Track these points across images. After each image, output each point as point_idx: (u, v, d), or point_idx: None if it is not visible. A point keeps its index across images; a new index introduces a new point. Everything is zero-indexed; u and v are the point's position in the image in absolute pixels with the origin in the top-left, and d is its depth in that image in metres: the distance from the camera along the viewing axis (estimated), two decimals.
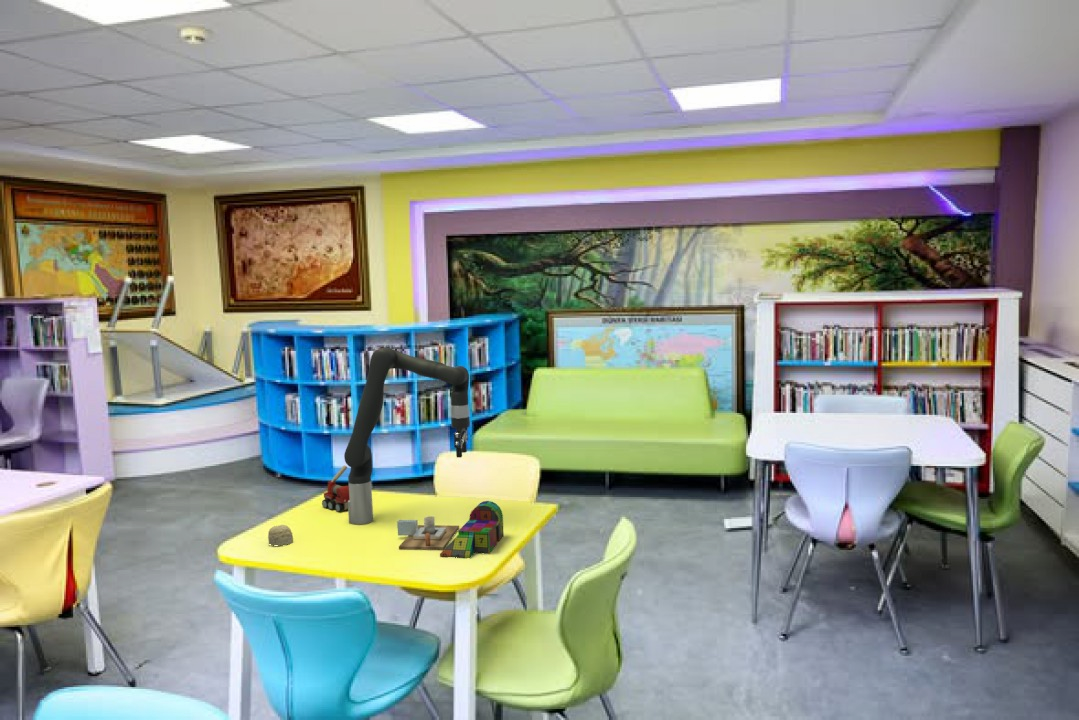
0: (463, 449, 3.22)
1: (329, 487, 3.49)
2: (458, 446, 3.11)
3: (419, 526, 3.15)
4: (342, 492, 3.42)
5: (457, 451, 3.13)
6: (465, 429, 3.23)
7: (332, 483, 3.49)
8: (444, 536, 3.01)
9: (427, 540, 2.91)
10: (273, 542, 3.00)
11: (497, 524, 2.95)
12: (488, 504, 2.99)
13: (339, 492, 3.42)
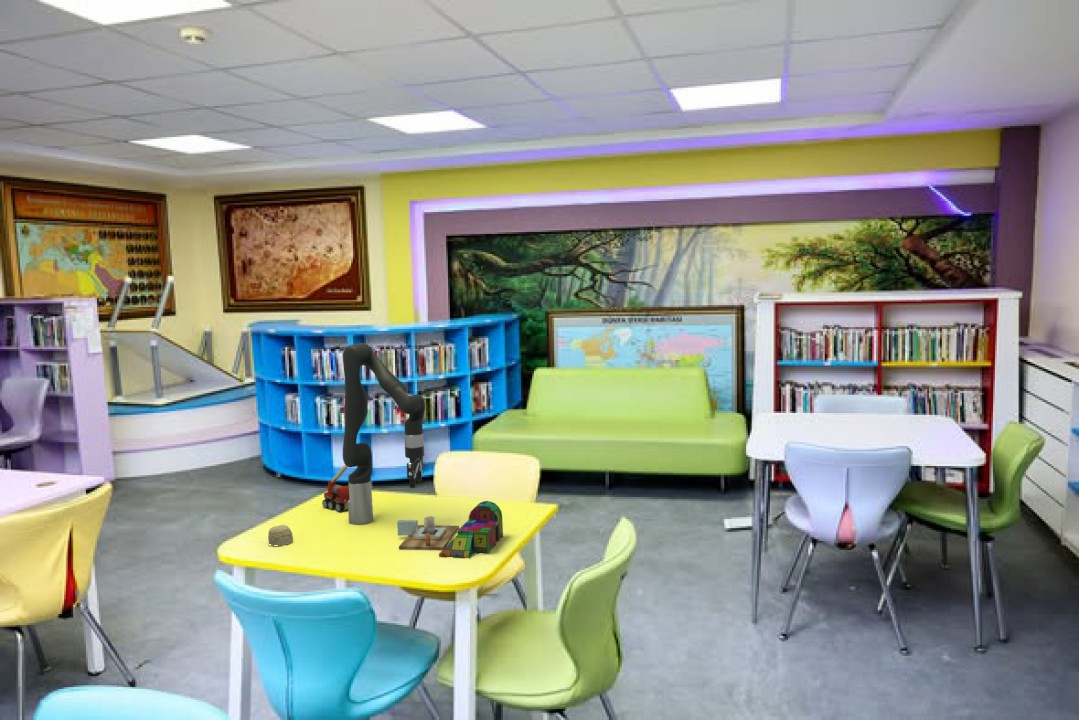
0: None
1: (329, 487, 3.49)
2: None
3: (419, 526, 3.15)
4: (342, 492, 3.42)
5: None
6: None
7: (332, 483, 3.49)
8: (444, 536, 3.01)
9: (427, 540, 2.91)
10: (273, 542, 3.00)
11: (496, 524, 2.95)
12: (487, 504, 2.99)
13: (339, 492, 3.42)
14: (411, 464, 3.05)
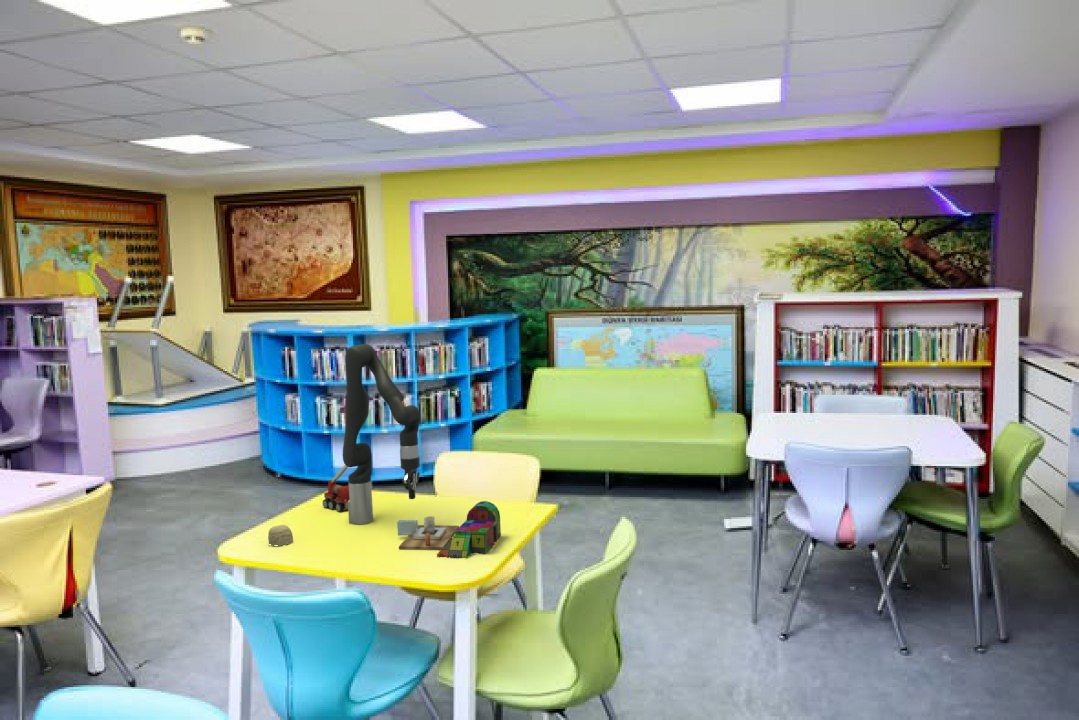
0: None
1: (329, 487, 3.49)
2: None
3: (419, 526, 3.15)
4: (342, 492, 3.42)
5: None
6: None
7: (332, 483, 3.49)
8: (444, 536, 3.01)
9: (427, 540, 2.91)
10: (273, 542, 3.00)
11: (494, 524, 2.95)
12: (485, 504, 2.99)
13: (339, 492, 3.42)
14: (406, 481, 3.05)
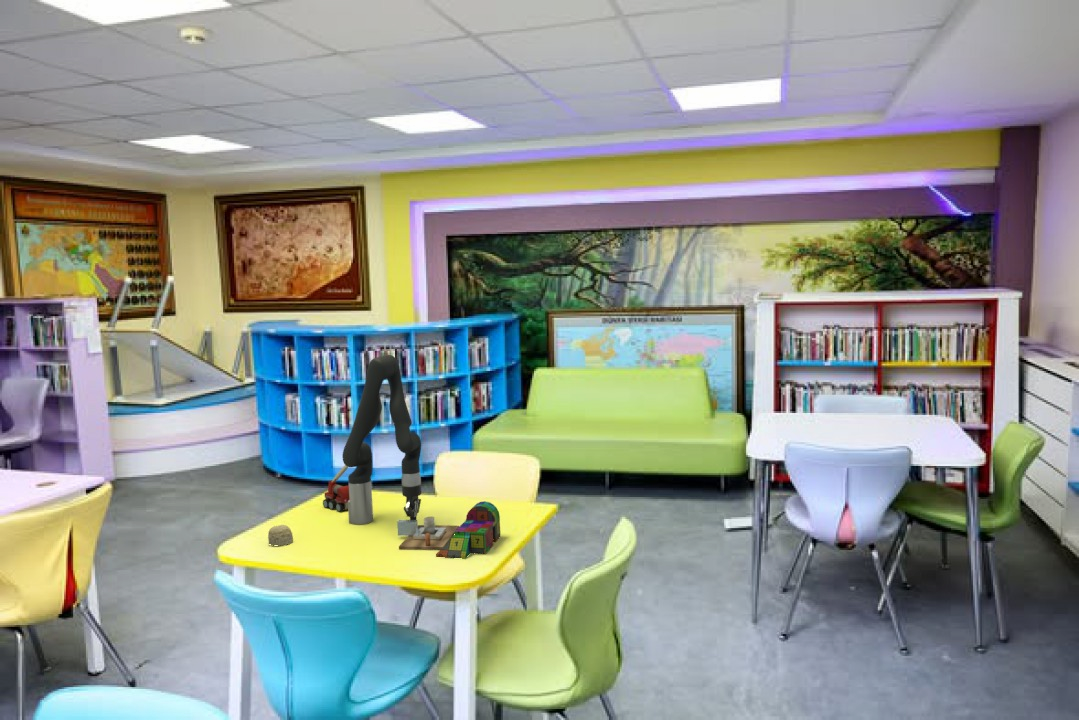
0: None
1: (330, 487, 3.50)
2: None
3: (419, 526, 3.15)
4: (343, 492, 3.42)
5: (415, 518, 3.14)
6: None
7: (333, 483, 3.49)
8: (444, 536, 3.01)
9: (427, 540, 2.91)
10: (273, 542, 3.00)
11: (494, 525, 2.95)
12: (485, 505, 2.98)
13: (340, 492, 3.42)
14: (408, 509, 3.06)
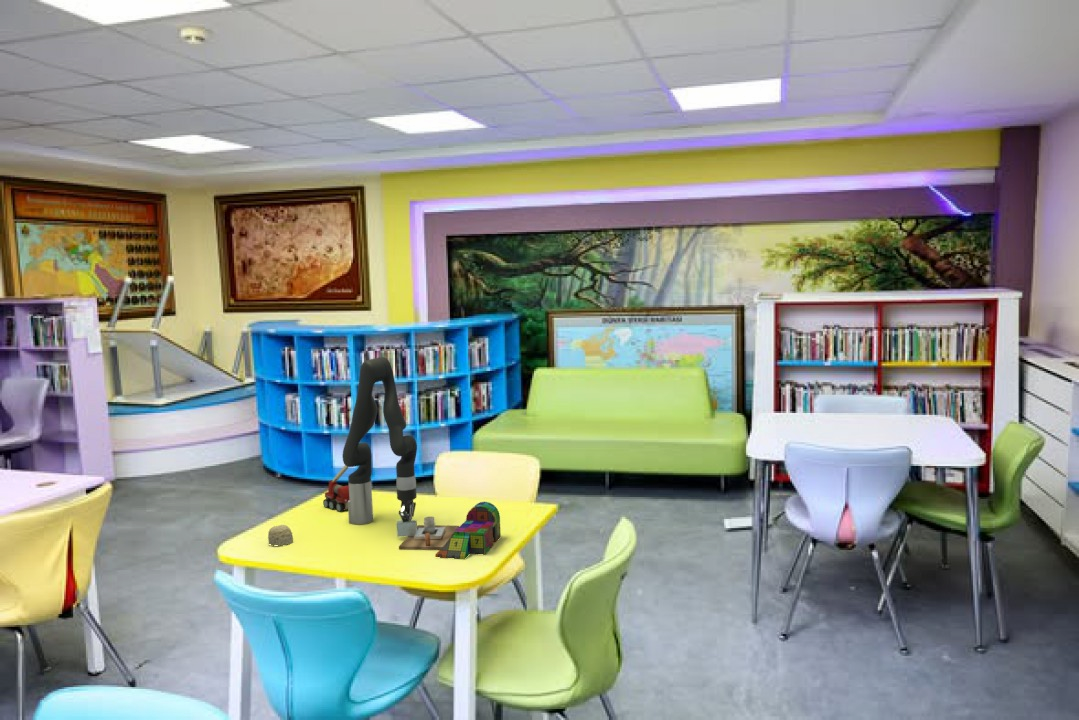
0: None
1: (330, 487, 3.50)
2: None
3: (419, 526, 3.15)
4: (343, 492, 3.42)
5: None
6: None
7: (333, 483, 3.50)
8: (444, 536, 3.01)
9: (427, 540, 2.91)
10: (273, 542, 3.00)
11: (494, 525, 2.94)
12: (485, 505, 2.98)
13: (340, 492, 3.42)
14: (403, 513, 3.01)
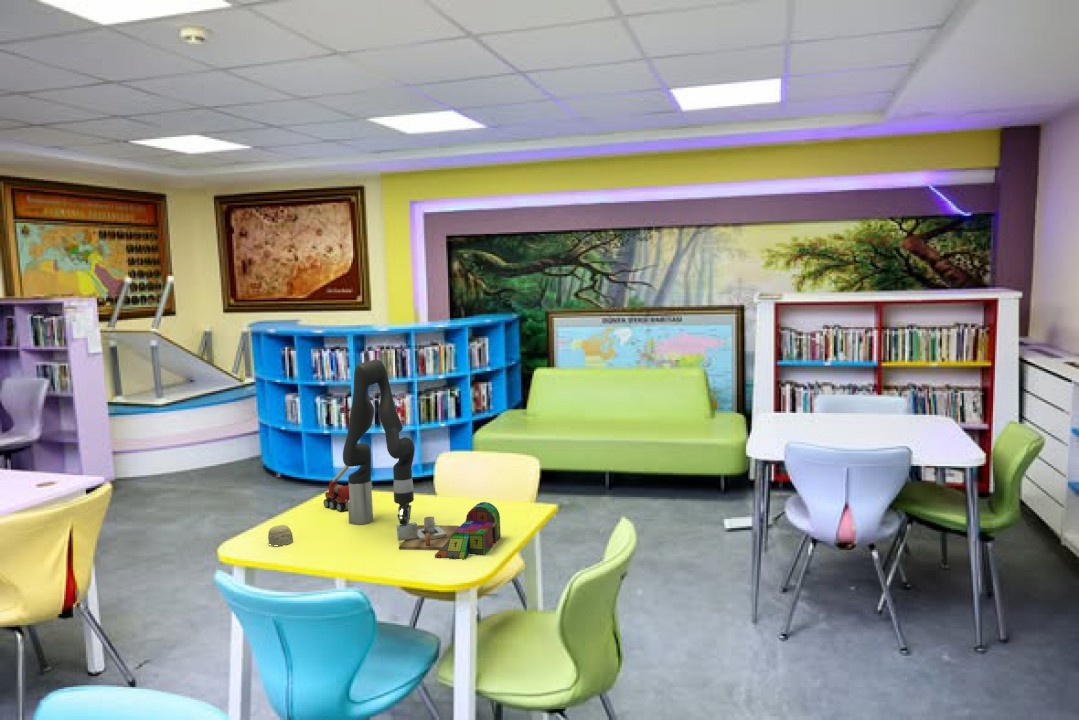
0: None
1: (330, 487, 3.50)
2: None
3: (419, 526, 3.15)
4: (343, 492, 3.42)
5: None
6: None
7: (333, 483, 3.50)
8: None
9: (427, 540, 2.91)
10: (273, 542, 3.00)
11: (493, 525, 2.93)
12: (485, 505, 2.97)
13: (340, 492, 3.43)
14: (402, 516, 2.97)
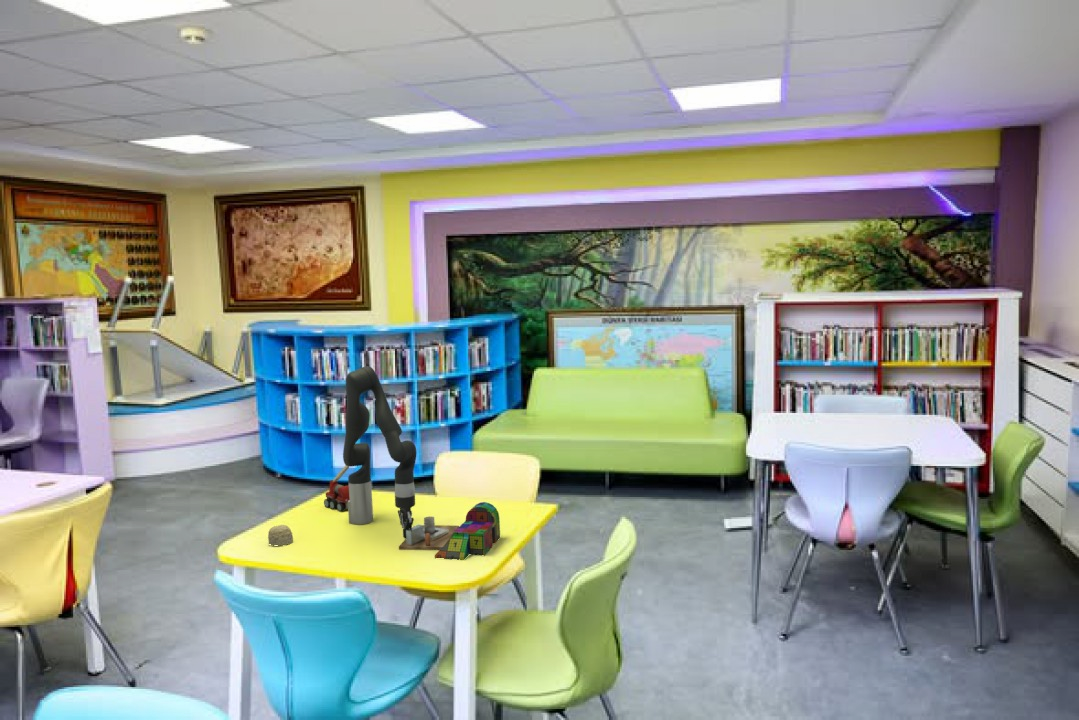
0: None
1: (331, 486, 3.50)
2: (402, 522, 3.00)
3: None
4: (344, 492, 3.42)
5: None
6: (407, 519, 2.92)
7: (334, 482, 3.50)
8: (444, 536, 3.01)
9: (427, 540, 2.91)
10: (273, 542, 3.00)
11: (493, 526, 2.93)
12: (484, 505, 2.97)
13: (341, 492, 3.43)
14: (412, 520, 2.92)
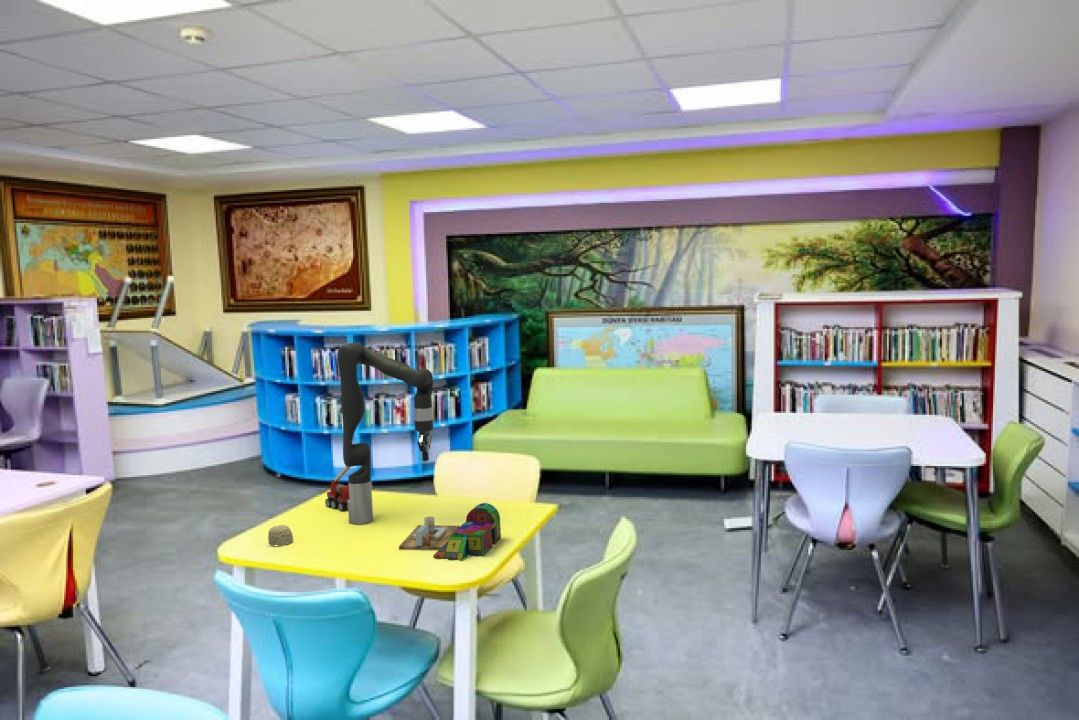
0: None
1: (332, 486, 3.51)
2: None
3: (419, 526, 3.15)
4: (345, 491, 3.43)
5: None
6: None
7: (335, 482, 3.50)
8: (444, 536, 3.01)
9: (427, 540, 2.91)
10: (273, 542, 3.00)
11: (493, 527, 2.92)
12: (485, 506, 2.96)
13: (342, 491, 3.43)
14: (422, 443, 3.10)
